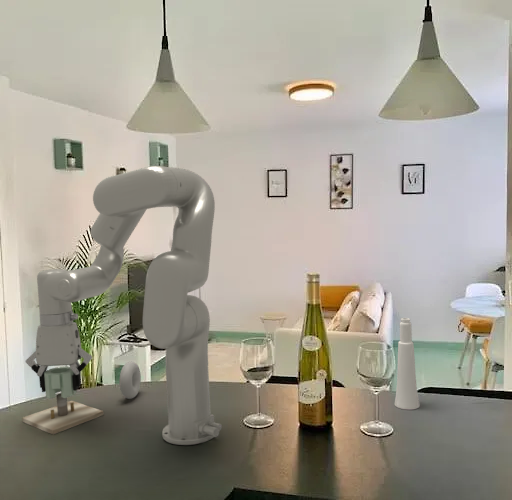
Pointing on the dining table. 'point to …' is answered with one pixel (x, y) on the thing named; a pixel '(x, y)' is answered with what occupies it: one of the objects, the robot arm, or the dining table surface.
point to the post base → (62, 416)
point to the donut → (130, 380)
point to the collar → (59, 382)
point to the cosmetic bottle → (406, 370)
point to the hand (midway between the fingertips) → (61, 389)
